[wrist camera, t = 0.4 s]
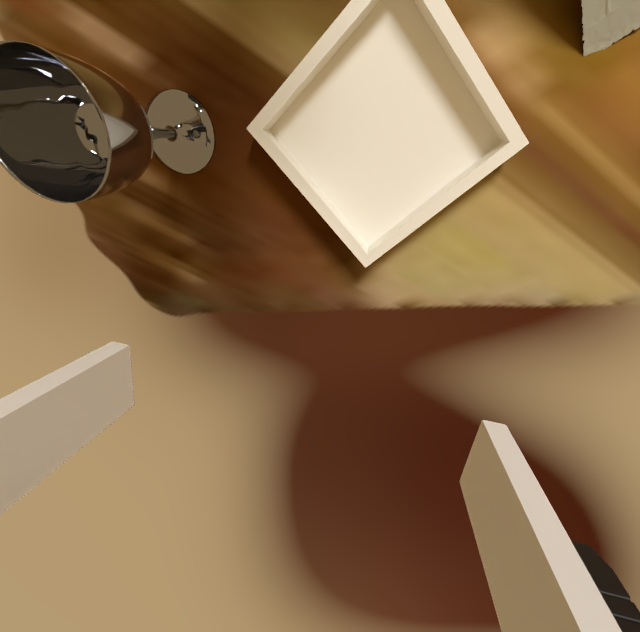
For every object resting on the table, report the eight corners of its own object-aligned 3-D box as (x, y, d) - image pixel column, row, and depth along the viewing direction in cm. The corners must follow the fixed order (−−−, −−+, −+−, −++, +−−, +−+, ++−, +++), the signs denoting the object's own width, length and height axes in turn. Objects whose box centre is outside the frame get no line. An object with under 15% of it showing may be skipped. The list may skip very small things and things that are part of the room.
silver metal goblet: (123, 113, 31) (-57, 95, 18) (184, 63, 29) (26, 1, 16) (174, 192, 34) (51, 225, 21) (234, 153, 32) (136, 163, 19)
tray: (401, -43, 24) (405, -66, 21) (514, 142, 28) (529, 143, 25) (257, 129, 30) (246, 128, 28) (366, 258, 35) (365, 267, 32)
